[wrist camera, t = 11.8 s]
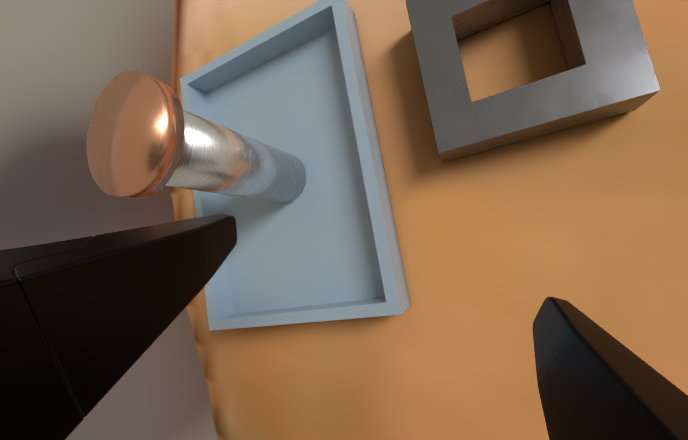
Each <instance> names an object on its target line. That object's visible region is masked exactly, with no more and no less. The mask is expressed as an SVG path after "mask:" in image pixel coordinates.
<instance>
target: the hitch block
mask: <svg viewBox="0 0 688 440" xmlns="http://www.w3.org/2000/svg"><path fill="white" fill-rule="evenodd" d="M547 2H550V5H551V9H552V12H553V16H554V20H555V23H556V27H557V30H558V34H559V38H560V41H561V45H562V48H563V52H564V56H565V59H566V63H567V66H568V71H565V72H562V73H559V74H556V75H553V76H550V77H547V78H544V79H541V80H538V81H535V82H532V83H529V84H526V85H523V86H520V87H517V88H514V89H511V90H508V91H505V92H502V93H499V94H496V95H493V96H490V97H487V98H484V99H481V100H478V101H475V102H472V103H471V99H470V95H469V90H468V86H467V82H466V78H465V73H464V69H463V65H462V61H461V56H460V52H459V48H458V44H457V40H459V39H461V38H463V37H466V36H468V35H471V34H473V33H475V32H478V31H480V30H483V29H485V28H487V27H490V26H492V25H495V24H497V23H499V22H502V21H504V20H507V19H509V18H511V17H514V16H516V15H518V14H521V13H523V12H526V11H528V10H530V9H533V8H535V7H538V6H540V5H542V4H545V3H547ZM406 6H407V10H408V15H409V19H410V24H411V29H412V33H413V38H414V43H415V47H416V52H417V56H418V61H419V66H420V70H421V75H422V79H423V84H424V89H425V93H426V98H427V103H428V107H429V112H430V116H431V121H432V126H433V130H434V135H435V140H436V144H437V149H438V153H439V155H440V157H441V159H442V161H443V162H446V161H449V160H453V159H457V158H460V157H464V156H468V155H471V154H475V153H479V152H482V151H486V150H490V149H494V148H497V147H501V146H505V145H508V144H512V143H516V142H519V141H523V140H527V139H530V138H534V137H538V136H541V135H545V134H549V133H552V132H556V131H560V130H564V129H567V128H571V127H575V126H578V125H582V124H586V123H589V122H593V121H597V120H600V119H604V118H608V117H611V116H615V115H619V114H623V113H626V112H630V111H634V110H636V109H637V108H639V107H640V106H641V105H642V104H644V103H645V102H646V101H647V100H649V99H650V98H651V97H652V96H654V95H655V94H656V93H657V92H659V91H660V88H659V85H658V81H657V78H656V75H655V72H654V69H653V65H652V62H651V59H650V56H649V53H648V49H647V46H646V43H645V40H644V37H643V33H642V30H641V27H640V24H639V21H638V18H637V14H636V11H635V8H634V5H633V2H632V0H406Z"/></svg>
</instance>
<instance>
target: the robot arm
mask: <svg viewBox="0 0 688 440" xmlns="http://www.w3.org/2000/svg"><path fill="white" fill-rule="evenodd" d="M236 243H237V226H236V219H235V217H234V216H231V215H227V214H216V215H210V216H204V217H198V218H193V219H187V220H181V221H175V222H170V223H164V224H158V225H153V226H147V227H141V228H135V229H130V230H124V231H118V232H112V233H107V234H101V235H96V236H94V237H93V236H89V237H83V238H78V239H72V240H65V241H59V242H54V243H47V244H40V245H33V246H27V247H19V248H12V249H5V250H0V440H65V439H66V438H67V437H68V436H69V435H70V433H71V432H72V431H73V430H74V429H75V428H76V427H77V426H78V425H79V424H80V422H81V421H82V420H83V418H84V417H85V416H87V415H88V413H89V412H90V411H91V410H92V409H93V408H94V407H95V406H96V405H97V403H98V402H99V401H100V400H101V399H102V398H103V397H104V396H105V395H106V394H107V393H108V391H109V390H110V389H111V388H112V387H113V386H114V385H115V384H116V383H117V382H118V381H119V379H120V378H121V377H122V376H123V375H124V374H125V373H126V372H127V370H129V369H130V367H131V366H132V365H133V364H134V363H135V362H136V361H137V360H138V359H139V358H140V356H141V355H142V354H143V353H144V352H145V351H146V350H147V349H148V348H149V347H150V346H151V345H152V343H153V342H154V341H155V340H156V339H157V338H158V337H159V336H160V335H161V334H162V332H163V331H164V330H165V329H166V328H167V327H168V326H169V325H170V324H171V323H172V321H173V320H174V319H175V318H176V317H177V316H178V315H179V314H180V313H181V311H183V309H184V308H185V307H186V306H187V305H188V304H189V303H190V302H191V301H192V300H193V299H194V297H195V296H196V295H197V294H198V293H199V292H200V291H201V290H202V289H203V288H204V286H205V285H206V284H207V283H208V282H209V281H210V279H211V278H212V277H213V276H214V274H215V273H216V271H217V270H218V269H219V267H220V266H221V265H222V263H223V262H224V261H225V259H226V258H227V257H228V255H229V254H230V253H231V251H232V250H233V249H234V247H235V246H236ZM533 339H534V350H535V361H536V372H537V381H538V388H539V393H540V398H541V403H542V407H543V412H544V417H545V421H546V426H547V431H548V435H549V440H688V396H687V395H686V394H685V393H684V392H682V391H681V390H680V389H679V388H677V387H676V386H675V385H673V384H672V383H671V382H670V381H668V380H667V379H666V378H665V377H663V376H662V375H661V374H659V373H658V372H657V371H656V370H654V369H653V368H652V367H651V366H649V365H648V364H647V363H646V362H644V361H643V360H642V359H640V358H639V357H638V356H637V355H635V354H634V353H633V352H632V351H630V350H629V349H628V348H626V347H625V346H624V345H623V344H621V343H620V342H619V341H618V340H616V339H615V338H614V337H613V336H611V335H610V334H609V333H607V332H606V331H605V330H604V329H602V328H601V327H600V326H599V325H597V324H596V323H595V322H593V321H592V320H591V319H590V318H588V317H587V316H586V315H585V314H583V313H582V312H581V311H579V310H578V309H577V308H576V307H574V306H573V305H572V304H571V303H569V302H568V301H566V300H562V299H558V298H554V297H548V298H546V299H545V300H544V302H543V304H542V306H541V308H540V310H539V312H538V314H537V316H536V318H535V320H534V322H533Z"/></svg>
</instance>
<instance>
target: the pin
mask: <svg viewBox="0 0 688 440" xmlns="http://www.w3.org/2000/svg"><path fill="white" fill-rule="evenodd" d="M87 159H88V164H89V168H90V172H91V174H92V177H93V179H94V180H95V182H96V184H97V185H98V187H99V188H100V189H102V191H104V192H105V193H107V194H109V195H112V196H119V197H130V198H139V199H141V198H147V197H150V196H152V195H154V194H156V193H157V192H159V191H160V190H161V189H162V188H163V187H164V186H171V187H178V188H184V189H191V190H197V191H204V192H210V193H217V194H224V195H230V196H237V197H243V198H250V199H257V200H263V201H270V202H276V203H289V202H292V201H294V200H295V199H296V198H298V197H299V195H300V194H301V193H302V191H303V189H304V186H305V183H306V170H305V167H304V165H303V163H302V161H301V160H300V159H299V158H298V157H296V156H294V155H292V154H290V153H287V152H285V151H282V150H280V149H277V148H275V147H273V146H270V145H268V144H265V143H263V142H260V141H258V140H255V139H253V138H251V137H248V136H246V135H243V134H241V133H238V132H236V131H233V130H231V129H229V128H226V127H224V126H221V125H219V124H216V123H214V122H211V121H209V120H207V119H204V118H202V117H199V116H197V115H194V114H192V113H190V112H187V111H185V110H182V107H181V104H180V102H179V99H178V97H177V96H176V94H175V92H174V91H173V90H172V89H171V88H170V87H169V86H168V85H166V84H164V83H162V82H160V81H158V80H156V79H154V78H152V77H149V76H147V75H145V74H143V73H141V72H138V71H126V72H123V73H120V74H119V75H117V76H116V77H114V78H113V79H112V80H111V81H110V82H109V83H108V84H107V85H106V86H105V88H104V89H103V90H102V92H101V94H100V95H99V97H98V99H97V101H96V103H95V106H94V108H93V111H92V114H91V117H90V121H89V126H88V133H87Z"/></svg>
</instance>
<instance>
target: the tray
mask: <svg viewBox="0 0 688 440" xmlns="http://www.w3.org/2000/svg"><path fill="white" fill-rule="evenodd" d="M180 83H181V92H182V100H183V109H184V110H185V111H187V112H190V113H192V114H194V115H197V116H199V117H202V118H204V119H207V120H209V121H211V122H214V123H216V124H219V125H221V126H224V127H226V128H229V129H231V130H233V131H236V132H238V133H241V134H243V135H246V136H248V137H251V138H253V139H255V140H258V141H260V142H263V143H265V144H268V145H270V146H273V147H275V148H277V149H280V150H282V151H285V152H287V153H290V154H292V155H294V156H296V157H298V158H299V159H300V160H301V161H302V163H303V165H304V167H305V170H306V183H305V186H304V189H303V191H302V193H301V194H300V195H299V197H298V198H296V199H295V200H294V201H292V202H289V203H276V202H270V201H263V200H257V199H250V198H243V197H237V196H230V195H224V194H217V193H210V192H204V191H197V190H193V195H194V204H195V212H196V218H198V217H204V216H210V215H216V214H227V215H231V216H234V217H235V219H236V226H237V243H236V246H235V247H234V249H233V250H232V251H231V253H230V254H229V255H228V257H227V258H226V259H225V261H224V262H223V263H222V265H221V266H220V267H219V269H218V270H217V271H216V273H215V274H214V276H213V277H212V278H211V279H210V281H209V282H208V283H207V284H206V285H205V286H204V290H205V299H206V307H207V316H208V325H209V331H212V330H224V329H236V328H248V327H260V326H272V325H284V324H296V323H307V322H319V321H331V320H343V319H355V318H367V317H379V316H391V315H402V314H403V313H404V311H405V310H406V309H407V308H408V307H409V306H410V299H409V294H408V289H407V284H406V279H405V274H404V268H403V263H402V258H401V253H400V248H399V243H398V237H397V232H396V227H395V222H394V217H393V212H392V206H391V201H390V196H389V191H388V186H387V181H386V175H385V170H384V165H383V160H382V155H381V150H380V144H379V139H378V134H377V129H376V124H375V118H374V113H373V108H372V103H371V98H370V93H369V87H368V82H367V77H366V72H365V67H364V62H363V56H362V51H361V46H360V41H359V36H358V31H357V25H356V20H355V15H354V12H353V11H352V9H351V7H350V6H349V4H348V2H347V0H319V1H318V2H316V3H314V4H312V5H310V6H309V7H307V8H305V9H303V10H302V11H300V12H298V13H296V14H294V15H293V16H291V17H289V18H287V19H286V20H284V21H282V22H280V23H278V24H277V25H275V26H273V27H271V28H270V29H268V30H266V31H264V32H262V33H261V34H259V35H257V36H255V37H254V38H252V39H250V40H248V41H246V42H245V43H243V44H241V45H239V46H238V47H236V48H234V49H232V50H230V51H229V52H227V53H225V54H223V55H222V56H220V57H218V58H216V59H214V60H213V61H211V62H209V63H207V64H206V65H204V66H202V67H200V68H198V69H197V70H195V71H193V72H191V73H189V74H188V75H186V76H184V77H182V78H181V79H180Z"/></svg>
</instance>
